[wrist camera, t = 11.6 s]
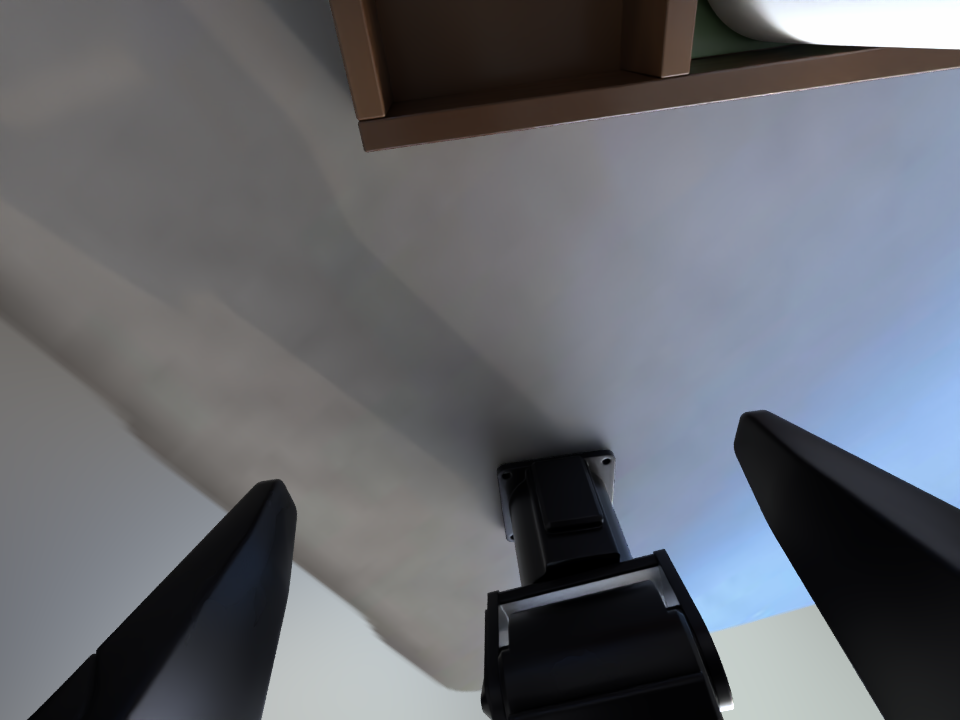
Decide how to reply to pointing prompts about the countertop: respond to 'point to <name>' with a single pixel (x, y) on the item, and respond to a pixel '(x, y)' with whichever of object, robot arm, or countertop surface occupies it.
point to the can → (845, 22)
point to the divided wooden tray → (570, 64)
